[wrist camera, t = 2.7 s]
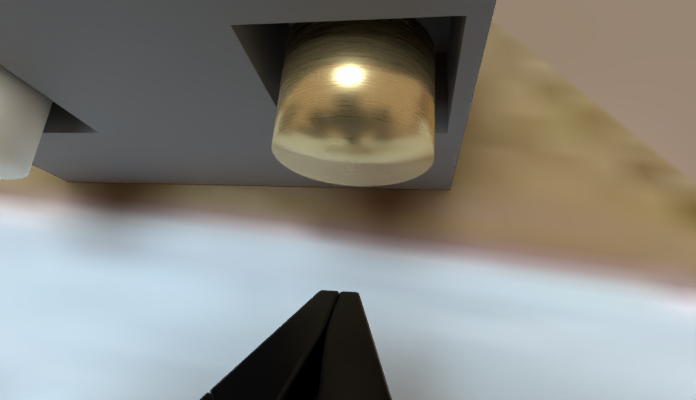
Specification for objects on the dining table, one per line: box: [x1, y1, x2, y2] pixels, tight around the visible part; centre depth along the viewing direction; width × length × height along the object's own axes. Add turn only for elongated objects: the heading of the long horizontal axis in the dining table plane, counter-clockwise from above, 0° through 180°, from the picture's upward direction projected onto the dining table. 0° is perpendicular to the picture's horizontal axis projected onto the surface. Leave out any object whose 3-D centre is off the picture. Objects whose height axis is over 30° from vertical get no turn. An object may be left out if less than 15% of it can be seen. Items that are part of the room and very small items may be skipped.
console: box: [0, 0, 496, 190], centre depth 15 cm, size 6×18×12 cm, turn 86°
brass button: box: [272, 18, 435, 186], centre depth 11 cm, size 3×4×4 cm
